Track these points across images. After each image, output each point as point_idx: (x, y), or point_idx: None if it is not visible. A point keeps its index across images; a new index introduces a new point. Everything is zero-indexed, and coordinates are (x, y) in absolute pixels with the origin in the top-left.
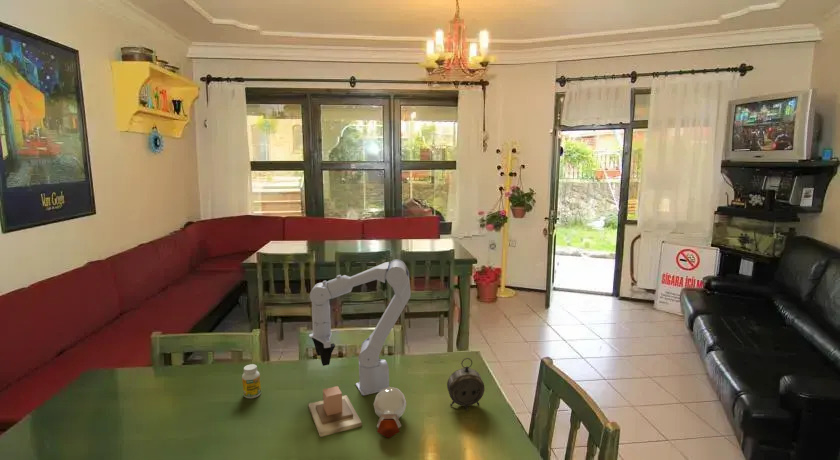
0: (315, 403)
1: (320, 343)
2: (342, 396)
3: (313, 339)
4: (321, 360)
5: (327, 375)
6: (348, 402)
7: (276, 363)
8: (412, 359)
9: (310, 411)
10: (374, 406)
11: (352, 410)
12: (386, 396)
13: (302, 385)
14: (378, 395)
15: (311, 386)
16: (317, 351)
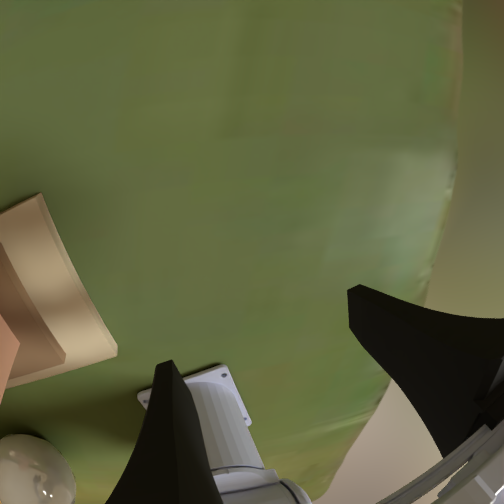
0: (38, 233)
1: (415, 373)
2: (104, 343)
3: (467, 360)
4: (153, 398)
5: (329, 242)
6: (62, 366)
7: (452, 37)
8: (334, 445)
9: (2, 212)
10: (4, 452)
11: (17, 377)
12: (3, 502)
13: (264, 127)
14: (8, 489)
15: (244, 175)
16: (371, 310)
